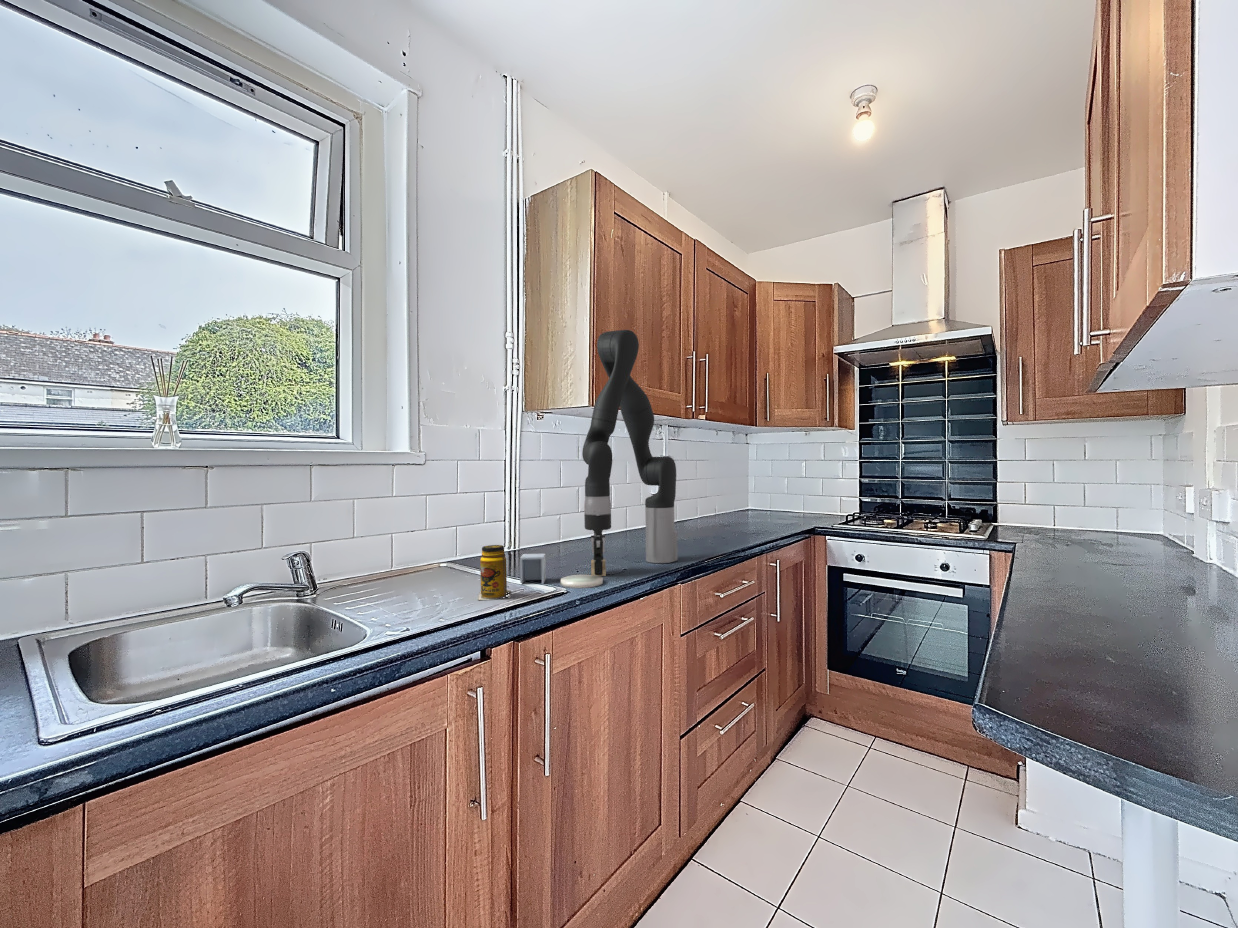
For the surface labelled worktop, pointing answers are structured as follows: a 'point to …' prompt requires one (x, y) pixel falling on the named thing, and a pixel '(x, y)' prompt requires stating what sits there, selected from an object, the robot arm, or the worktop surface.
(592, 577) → the dish
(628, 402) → the robot arm
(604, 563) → the block
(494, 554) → the condiment
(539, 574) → the cover
